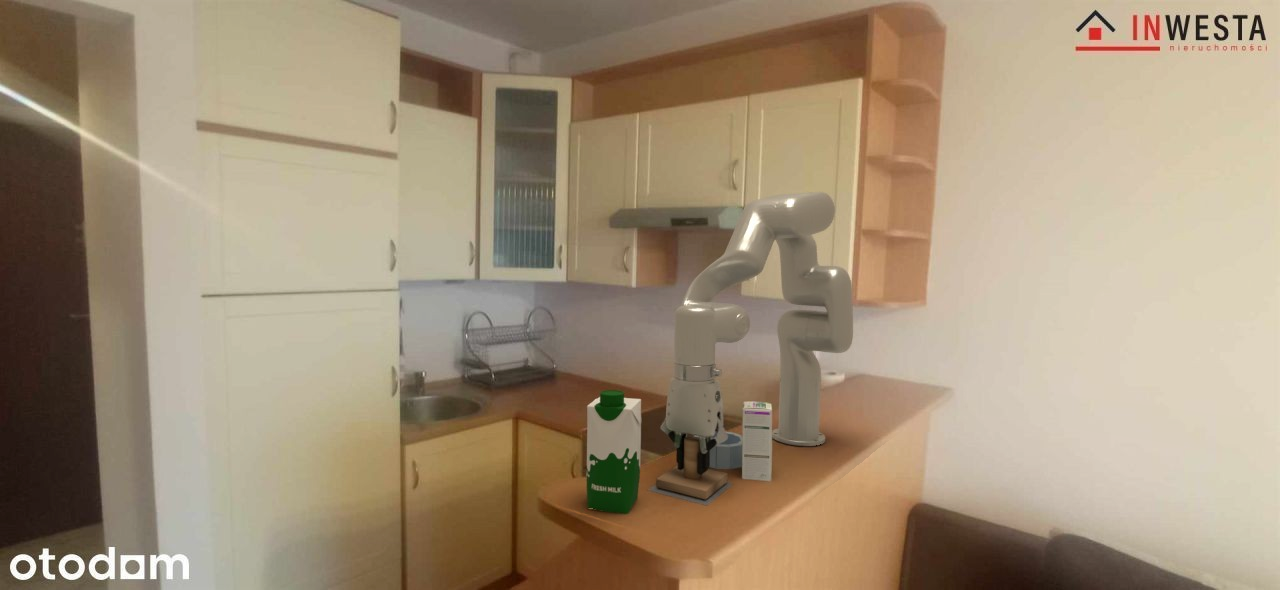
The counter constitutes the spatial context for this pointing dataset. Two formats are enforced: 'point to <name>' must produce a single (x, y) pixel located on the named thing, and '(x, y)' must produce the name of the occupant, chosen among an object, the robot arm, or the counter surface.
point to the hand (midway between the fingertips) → (692, 468)
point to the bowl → (727, 452)
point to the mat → (692, 498)
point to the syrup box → (757, 441)
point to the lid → (692, 474)
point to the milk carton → (613, 452)
